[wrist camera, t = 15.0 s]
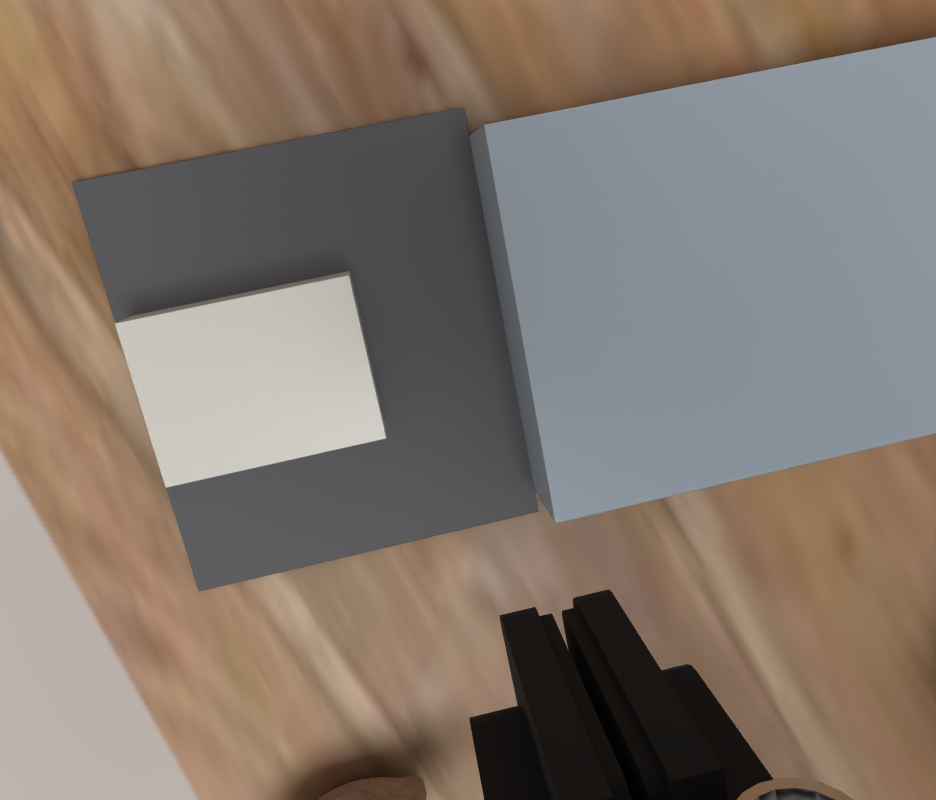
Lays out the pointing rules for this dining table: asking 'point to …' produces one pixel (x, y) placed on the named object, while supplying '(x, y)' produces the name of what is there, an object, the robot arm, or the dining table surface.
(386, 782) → the oil lamp
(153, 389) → the off-white rectangular block
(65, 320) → the dining table surface
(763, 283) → the block
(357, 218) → the mat
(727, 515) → the dining table surface
